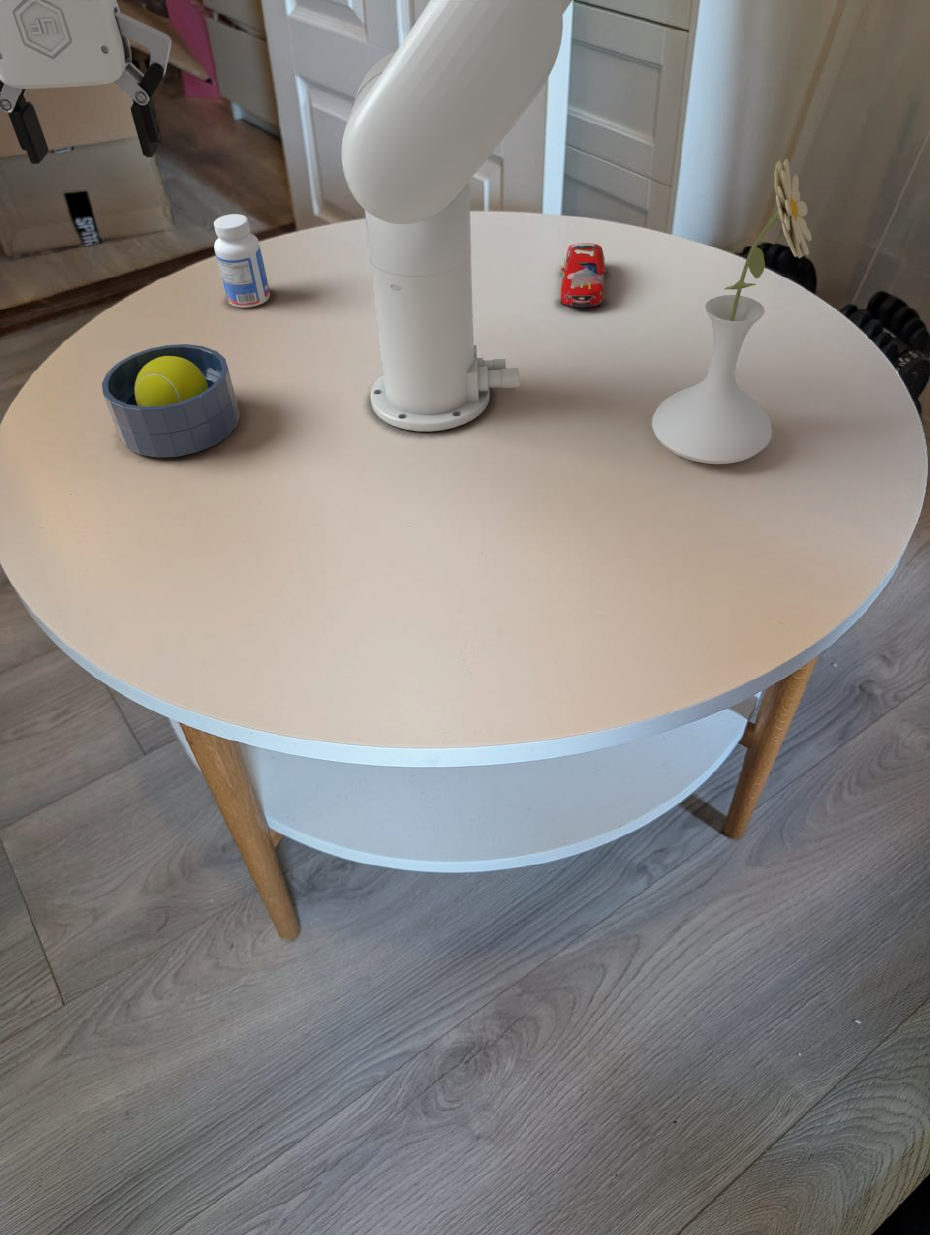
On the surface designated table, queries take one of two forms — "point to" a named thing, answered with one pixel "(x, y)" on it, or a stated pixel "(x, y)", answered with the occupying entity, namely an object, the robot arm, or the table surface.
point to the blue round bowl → (172, 405)
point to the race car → (583, 275)
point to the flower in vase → (731, 359)
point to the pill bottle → (240, 262)
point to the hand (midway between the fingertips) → (96, 155)
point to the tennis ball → (168, 382)
